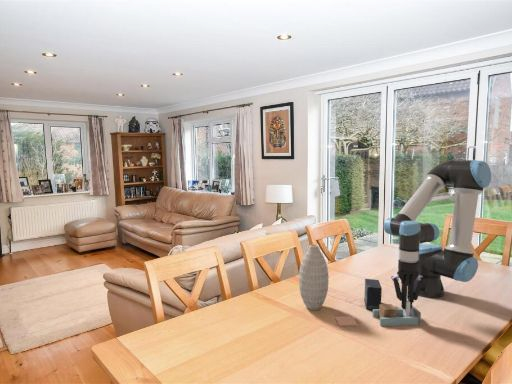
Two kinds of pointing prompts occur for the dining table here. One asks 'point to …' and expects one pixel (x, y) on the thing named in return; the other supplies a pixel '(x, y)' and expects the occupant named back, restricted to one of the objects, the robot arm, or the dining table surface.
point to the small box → (372, 294)
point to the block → (387, 310)
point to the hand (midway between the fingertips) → (406, 316)
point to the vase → (313, 278)
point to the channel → (400, 318)
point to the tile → (346, 321)
